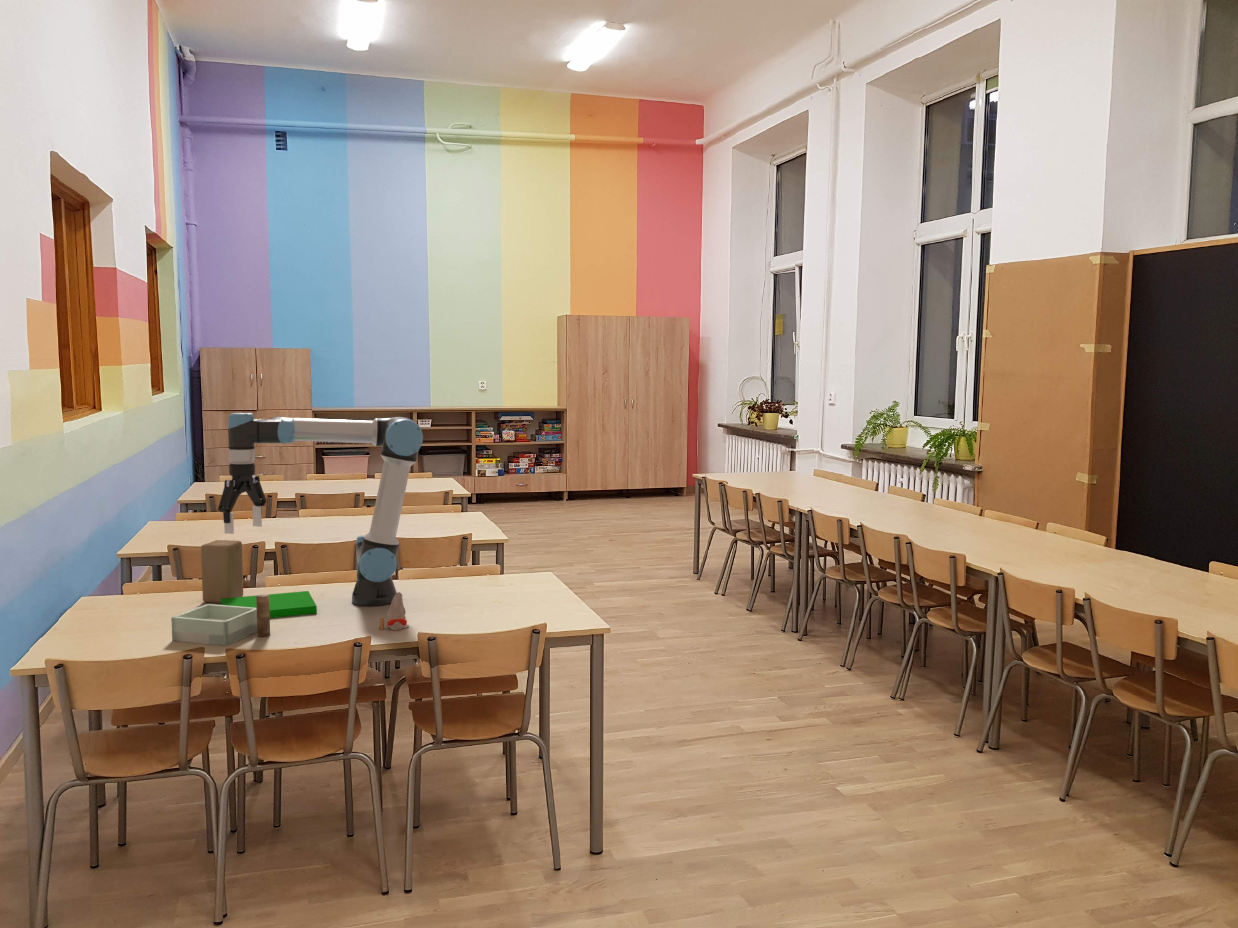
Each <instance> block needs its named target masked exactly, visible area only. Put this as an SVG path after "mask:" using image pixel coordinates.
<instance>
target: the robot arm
mask: <svg viewBox="0 0 1238 928" xmlns="http://www.w3.org/2000/svg"><path fill="white" fill-rule="evenodd" d="M227 418H228V420H227V436H228V437H227V440H228V462H230V463H229V464H228V474H229V475H230V477H231V479H225V480H224V486H223V487H224V488H223V491H222V494H221V497H220V499H219V500H220V501H219V504H218V508H217V510H218V512H220V513H223V514H222V515H223V523H224V527H223V528H224V534H228V535H233V534H235V530H234V529H235V528H234V525H235V524H234V512H232V511H233V508H234V507H235V505H236V503H237V500H238V498H239V497H240V495H242V493H246V494H247V496H248V497H249V499H250V500H251V502H252V504H254V505H252V527H259V528H260V527H262V525H263V524H262V523H263V521H262V515H263V514H262V513H263V507H265V506H266V504H267V498H266V495H265V493H264V490H263V488H262V485H261V482H260V481H261V478H260V476H259V475H255V474H256V464H255V462H256V449H255V445H256V444H281V445H284V444H293V443H294V442H295V441H297V442H298V441H299V442H319V443H321V442H324V443H326V442H327V443H328V442H329V443H351V444H355V443H356V444H372V446H374V447H381V452H380V457H381V458H382V460H383V464H382V465H383V466H382V471H381V473H380V480H379V485H378V489H377V493H376V498H375V499H376V500H375V503H374V509H373V513H372V514H373V515H372V519H371V524H370V529H369V532H368V533H367V534H365V535H359V536H357V537H356V540H355V541H356V542H355V548H356V551H355V552H356V582H355V585H354V588H353V591H352V594H351V602H352V603H353V605H354V604H355V605H357V606H363V607H364V606H365V607H371V606H372V607H375V606H385V605H389V604H390V605H391V602H392V600H393V597H394V596H395V594H396V593H398V591H397V588H396V586H395V583H394V581H393V577H392V576H393V575H394V573H395V572H396V569H397V565H398V563H397V562H398V561H397V556H398V551H399V546H400V541H399V540H398V538H397V532H398V527H399V524H400V519H401V513H402V510H403V509H402V508H403V504H404V499H405V495H406V489H407V485H408V481H409V475H410V472H411V471H410V470H411V467H412V466H413V465H414V464H416V463H417V459H418V455H419V451H420V448H421V447H422V444H423V442H424V441H423V439H424V434H423V430H422V429H421V427H420V425H419V424H418V423H417V422H416V421H415V420H413V419H410V418H409V417H405V416H395V417H385V418H383V417H379V418H378V417H376V418H374V419H373V420H360V419H359V420H356V419H355V420H354V419H331V418H330V419H328V418H305V417H302V418H301V417H282V416H273V417H270V418H268V419H257V418H255V416H254V413H252V412H231V413H230V414H229V415H228V416H227Z"/></svg>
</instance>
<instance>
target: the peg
mask: <svg viewBox="0 0 1238 928" xmlns="http://www.w3.org/2000/svg"><path fill="white" fill-rule="evenodd" d="M257 595H258V596H256V595H255V596H256V605H257V632H256V634H257V635H256V636H257V637H258V638H266V637H270V636H271V620H270V619H271V618H270V607H269V595H267V594H257Z"/></svg>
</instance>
